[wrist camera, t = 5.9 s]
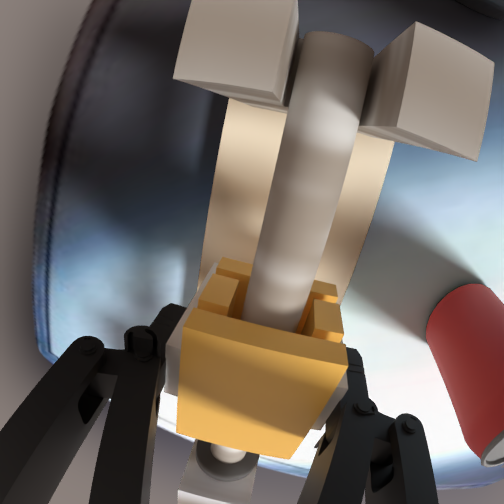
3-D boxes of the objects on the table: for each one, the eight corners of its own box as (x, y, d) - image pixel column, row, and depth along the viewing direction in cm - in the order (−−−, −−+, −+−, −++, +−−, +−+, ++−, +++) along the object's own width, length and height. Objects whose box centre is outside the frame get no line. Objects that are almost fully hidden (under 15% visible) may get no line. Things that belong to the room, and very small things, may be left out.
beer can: (478, 262, 17) (572, 374, 6) (500, 316, 19) (567, 420, 8) (409, 316, 20) (461, 457, 9) (441, 362, 21) (482, 480, 10)
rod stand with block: (245, 53, 15) (153, -45, 4) (398, 92, 14) (534, 62, 3) (189, 396, 26) (146, 503, 16) (281, 419, 26) (265, 532, 15)
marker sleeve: (222, 256, 13) (182, 326, 8) (335, 284, 12) (348, 366, 8) (205, 359, 15) (176, 432, 11) (295, 381, 15) (289, 459, 11)
